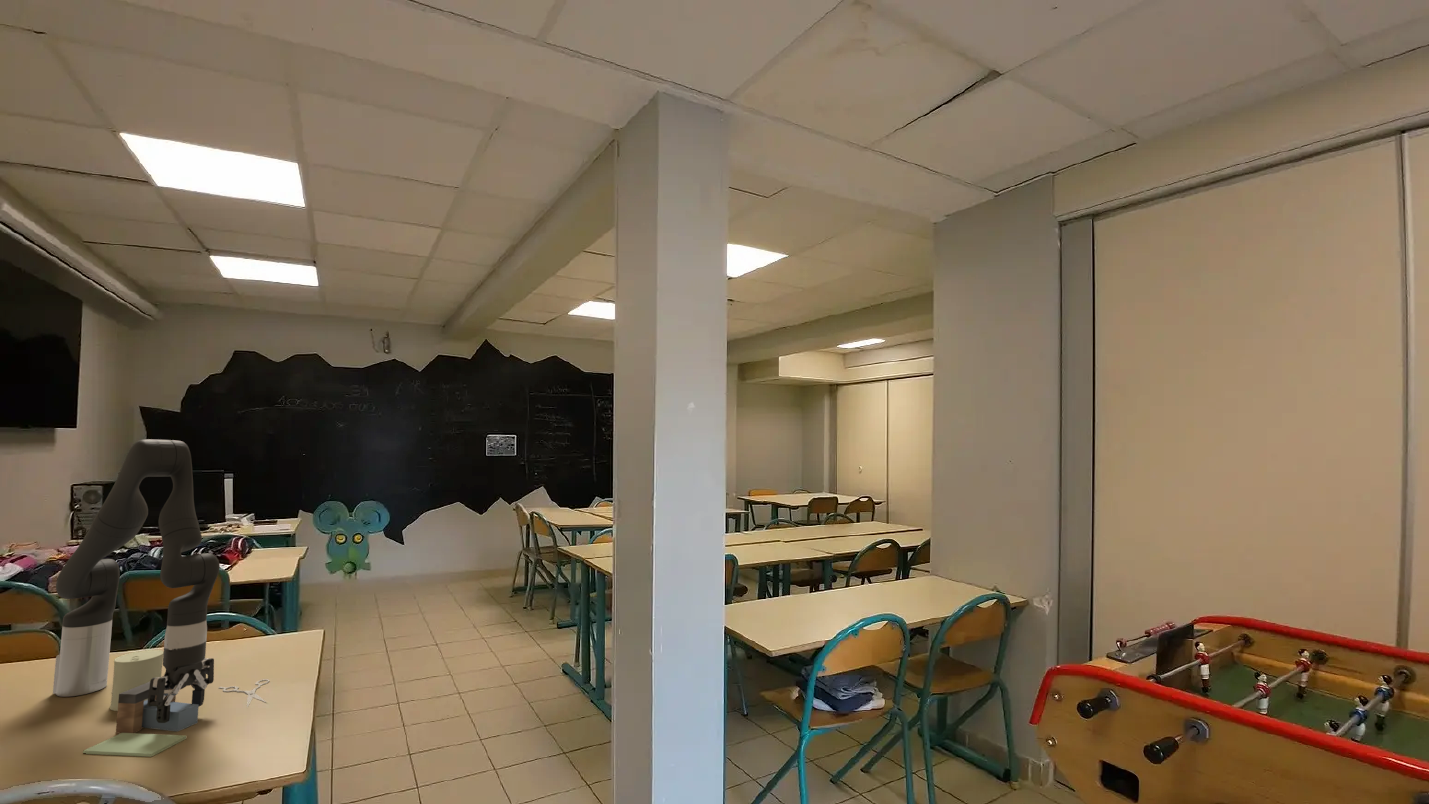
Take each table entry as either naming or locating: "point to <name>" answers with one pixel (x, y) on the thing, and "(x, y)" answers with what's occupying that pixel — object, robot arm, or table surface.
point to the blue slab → (171, 716)
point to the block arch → (133, 708)
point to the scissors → (249, 693)
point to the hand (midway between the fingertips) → (180, 714)
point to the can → (134, 672)
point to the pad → (135, 744)
